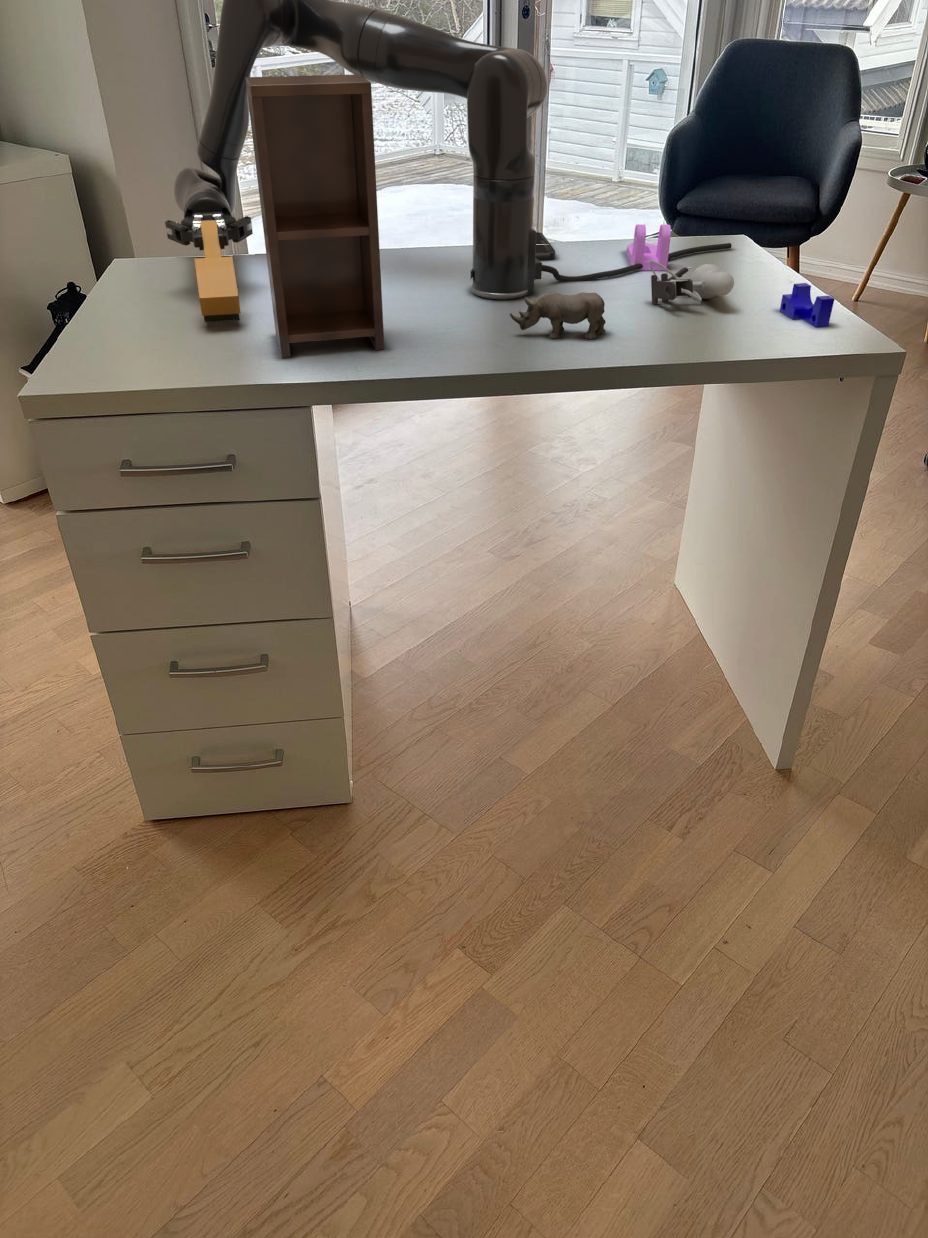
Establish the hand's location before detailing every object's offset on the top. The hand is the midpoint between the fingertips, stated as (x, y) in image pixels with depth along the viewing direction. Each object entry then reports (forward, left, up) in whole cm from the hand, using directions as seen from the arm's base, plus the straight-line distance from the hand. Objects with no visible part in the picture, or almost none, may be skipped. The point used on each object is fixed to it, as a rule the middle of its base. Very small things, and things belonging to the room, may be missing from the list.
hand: (211, 242), depth 137 cm
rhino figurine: (-46, +25, -10) cm, 53 cm away
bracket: (-74, -9, -10) cm, 75 cm away
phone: (-56, -21, -10) cm, 61 cm away
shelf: (-14, +20, -9) cm, 26 cm away
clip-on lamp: (-71, +13, -10) cm, 73 cm away
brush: (0, +2, -4) cm, 5 cm away
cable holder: (-84, +27, -10) cm, 89 cm away
